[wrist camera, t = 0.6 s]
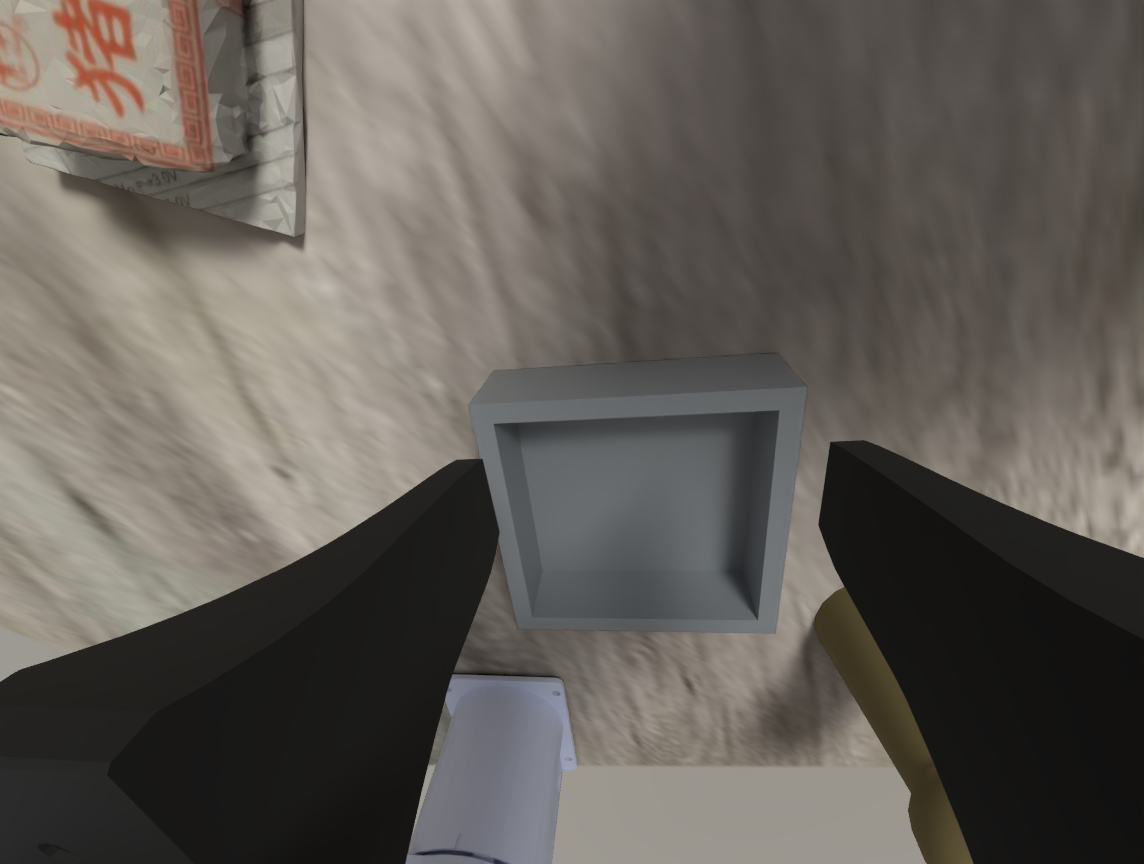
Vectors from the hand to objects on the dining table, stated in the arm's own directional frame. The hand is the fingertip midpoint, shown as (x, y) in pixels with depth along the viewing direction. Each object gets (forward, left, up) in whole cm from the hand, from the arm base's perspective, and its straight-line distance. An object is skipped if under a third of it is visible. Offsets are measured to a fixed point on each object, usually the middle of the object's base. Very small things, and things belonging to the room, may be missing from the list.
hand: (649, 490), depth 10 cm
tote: (-6, 0, -10) cm, 12 cm away
